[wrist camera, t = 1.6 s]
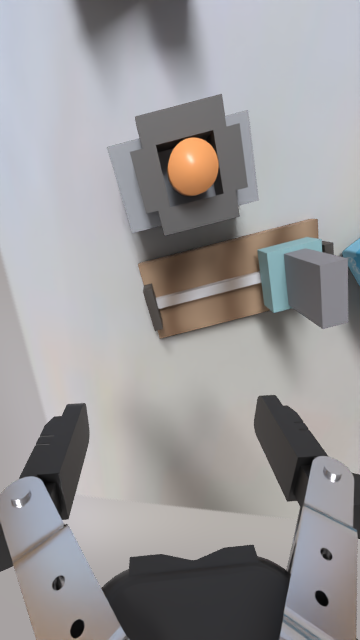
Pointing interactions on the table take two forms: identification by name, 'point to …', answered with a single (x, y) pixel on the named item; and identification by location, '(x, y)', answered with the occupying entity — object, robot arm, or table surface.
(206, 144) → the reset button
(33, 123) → the table surface
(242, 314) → the rail base
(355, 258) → the data package
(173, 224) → the grey dispenser housing
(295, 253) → the carriage
